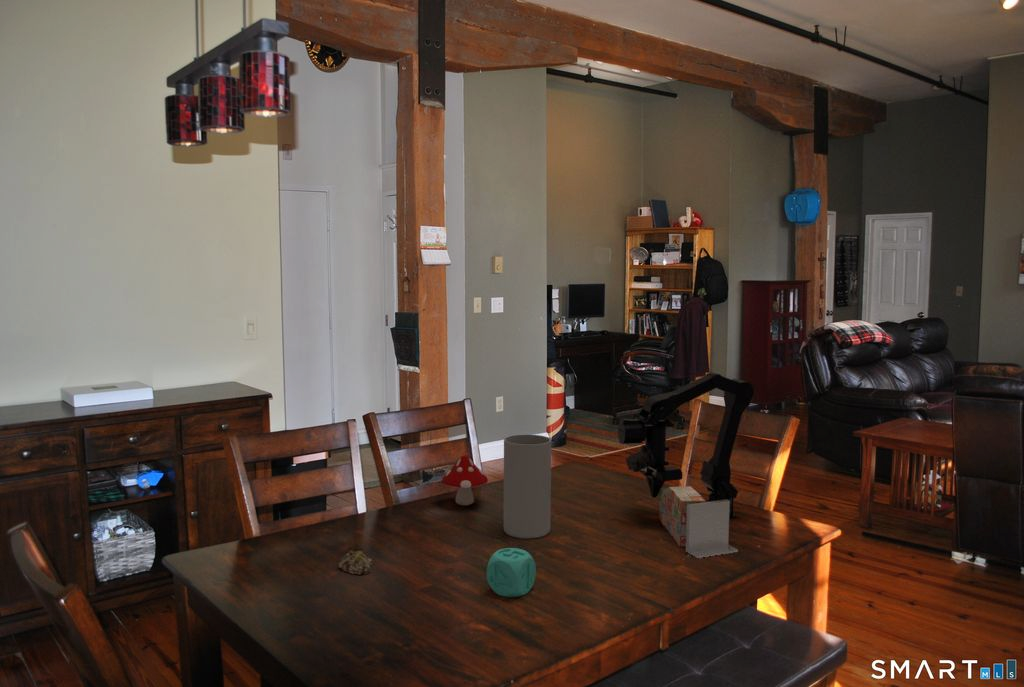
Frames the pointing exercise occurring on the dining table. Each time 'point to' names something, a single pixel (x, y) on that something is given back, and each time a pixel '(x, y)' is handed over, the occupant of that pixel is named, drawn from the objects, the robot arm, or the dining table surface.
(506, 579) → the decorative dice
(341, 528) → the dining table surface
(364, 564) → the mineral rock
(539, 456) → the cylinder vase
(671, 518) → the stack of blocks
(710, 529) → the bookend
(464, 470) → the decorative mushroom
